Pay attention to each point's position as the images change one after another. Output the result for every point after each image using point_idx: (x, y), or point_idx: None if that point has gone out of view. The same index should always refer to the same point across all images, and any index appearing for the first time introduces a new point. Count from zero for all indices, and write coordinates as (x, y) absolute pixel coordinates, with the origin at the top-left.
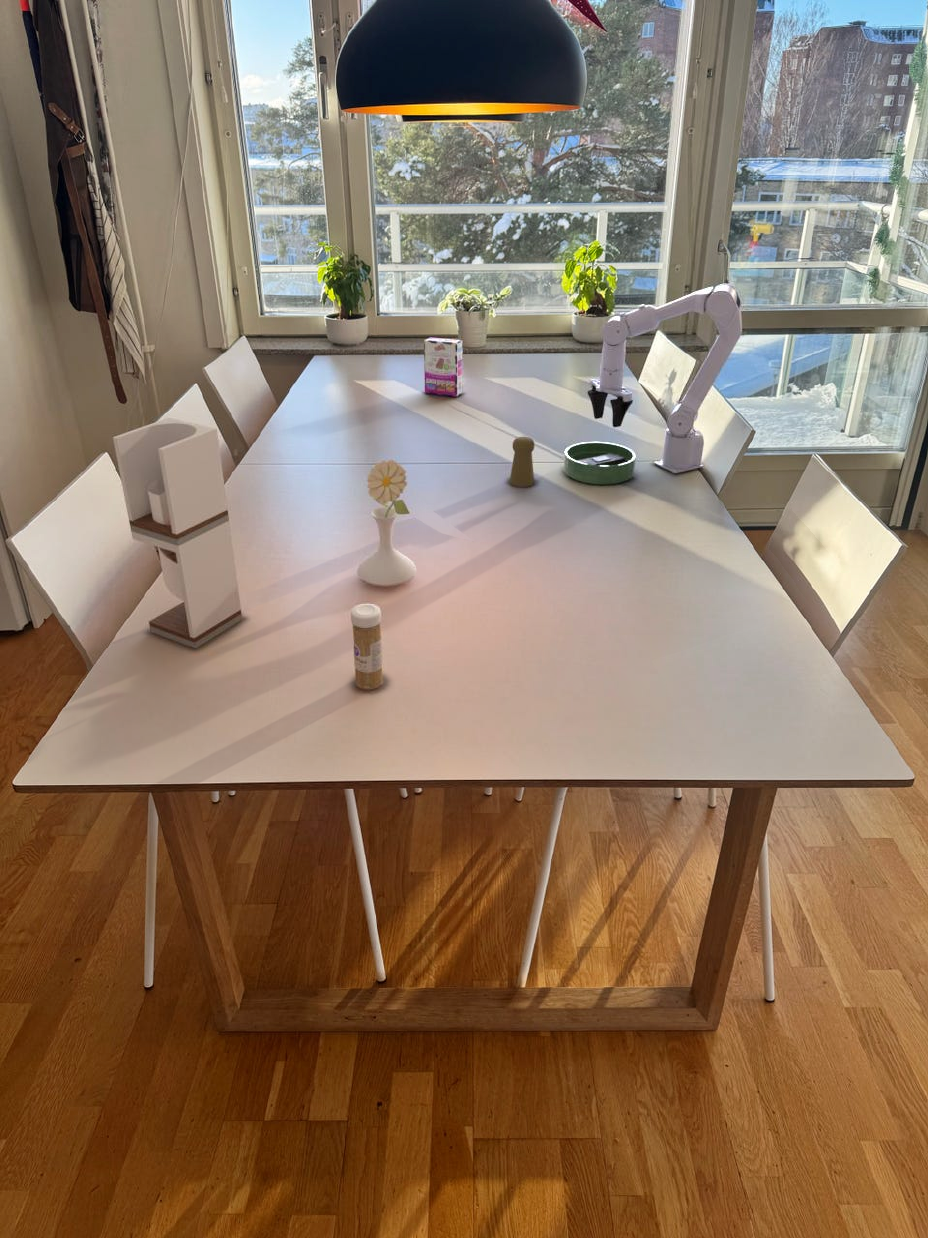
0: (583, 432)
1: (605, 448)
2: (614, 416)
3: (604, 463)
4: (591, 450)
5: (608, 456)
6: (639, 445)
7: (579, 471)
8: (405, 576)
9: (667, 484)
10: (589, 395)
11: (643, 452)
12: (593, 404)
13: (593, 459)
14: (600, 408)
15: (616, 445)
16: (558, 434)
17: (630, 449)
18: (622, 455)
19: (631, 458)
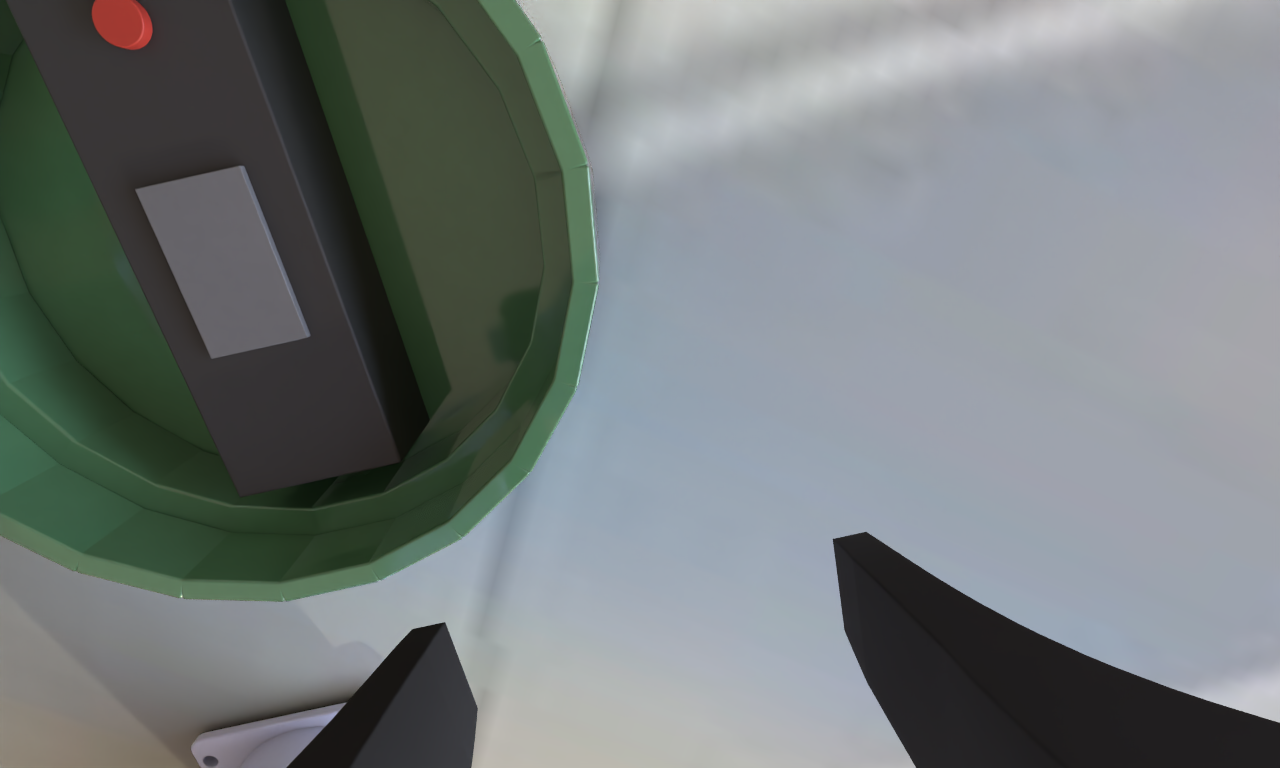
0: (1186, 497)
1: (520, 432)
2: (311, 751)
3: (134, 259)
4: (566, 303)
5: (303, 372)
6: (776, 734)
7: None
8: None
9: (2, 622)
10: (1257, 742)
11: (644, 709)
12: (983, 649)
13: (204, 172)
14: (908, 705)
15: (435, 527)
16: (1261, 292)
17: (286, 600)
18: (387, 519)
19: (221, 546)
